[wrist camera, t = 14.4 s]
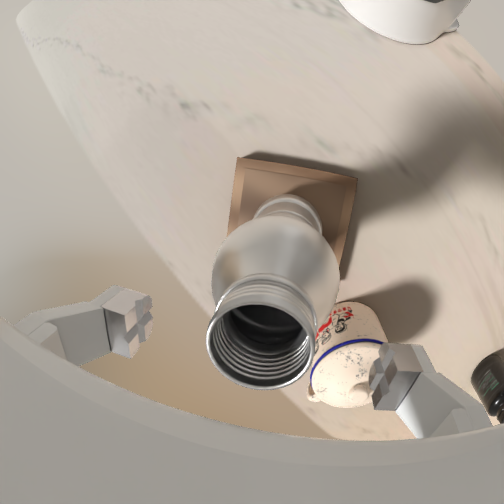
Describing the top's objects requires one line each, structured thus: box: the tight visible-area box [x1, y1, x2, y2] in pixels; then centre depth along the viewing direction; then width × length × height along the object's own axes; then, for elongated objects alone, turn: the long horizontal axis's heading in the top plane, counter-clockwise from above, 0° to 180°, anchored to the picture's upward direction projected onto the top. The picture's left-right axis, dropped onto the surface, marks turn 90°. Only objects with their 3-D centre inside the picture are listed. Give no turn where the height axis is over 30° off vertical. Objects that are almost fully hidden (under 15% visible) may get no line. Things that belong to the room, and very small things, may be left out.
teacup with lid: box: [307, 302, 388, 408], centre depth 27 cm, size 12×9×12 cm
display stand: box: [227, 157, 358, 266], centre depth 28 cm, size 12×12×2 cm
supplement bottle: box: [471, 355, 504, 424], centre depth 24 cm, size 7×7×12 cm
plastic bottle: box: [206, 194, 340, 390], centre depth 18 cm, size 6×7×20 cm
